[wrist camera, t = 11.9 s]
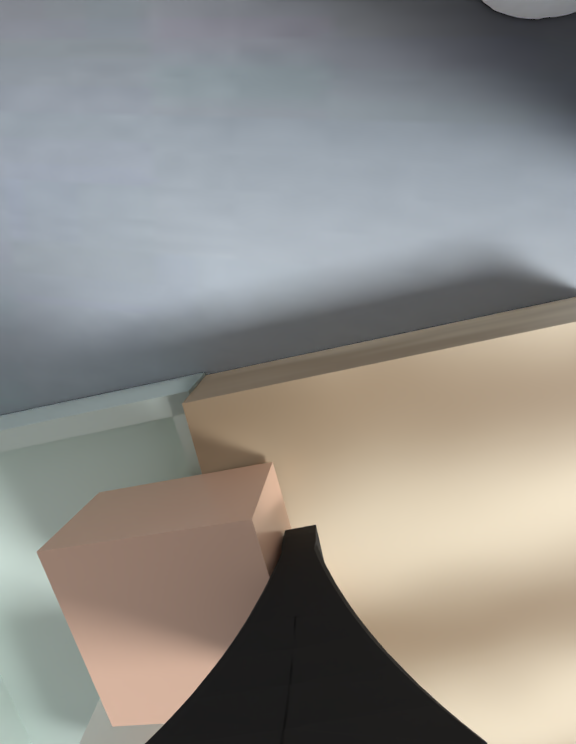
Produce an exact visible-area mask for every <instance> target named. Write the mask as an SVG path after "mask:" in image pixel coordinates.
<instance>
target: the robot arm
mask: <svg viewBox="0 0 576 744" xmlns="http://www.w3.org/2000/svg"><path fill="white" fill-rule="evenodd" d="M281 547H282V552H281V555H280V557H279V559H278V562H277V564H276V566H275V568H274V570H273V572H272V574H271V576H270V578H269V580H268V582H267V584H266V586H265V588H264V590H263V592H262V594H261V596H260V597H259V599H258V601H257V603H256V604H255V606H254V608H253V610H252V611H251V613H250V615H249V617H248V618H247V620H246V622H245V623H244V625H243V626H242V628H241V630H240V631H239V633H238V634H237V636H236V637H235V639H234V640H233V642H232V643H231V644H230V646H229V647H228V649H227V650H226V652H225V653H224V654H223V656H222V657H221V659H220V660H219V661H218V662H217V664H216V665H215V666H214V668H213V669H212V670H211V671H210V673H209V674H208V675H207V676H206V678H205V679H204V680H203V681H202V683H201V684H200V685H199V686H198V687H197V689H196V690H195V691H194V692H193V694H192V695H191V696H190V697H189V698H188V699H187V700H186V701H185V703H184V704H183V705H182V706H181V707H180V708H179V709H178V710H177V711H176V712H175V713H174V715H173V716H172V717H171V718H170V719H169V720H168V721H167V722H166V723H165V724H164V725H163V726H162V727H161V728H160V729H159V730H158V731H157V732H156V733H155V734H154V735H153V736H152V737H151V738H150V739H149V740H148V741H147V742H146V743H145V744H487V742H486V741H485V740H483V739H482V738H481V737H480V736H478V735H477V734H476V733H475V732H473V731H472V730H471V729H470V728H468V727H467V726H466V725H465V724H463V723H462V722H461V721H460V720H459V719H457V718H456V717H455V716H454V715H453V714H451V713H450V712H449V711H448V710H447V709H446V708H444V707H443V706H442V705H441V704H440V703H439V702H438V701H436V700H435V699H434V698H433V697H432V696H431V695H430V694H429V693H428V692H427V691H426V690H424V689H423V688H422V687H421V686H420V685H419V684H418V683H417V682H416V681H415V680H414V679H413V678H412V677H411V676H410V675H409V674H408V673H407V672H406V671H405V670H404V669H403V668H402V667H401V666H400V665H399V664H398V663H397V662H396V661H395V659H394V658H393V657H392V656H391V655H390V654H389V653H388V652H387V651H386V650H385V649H384V648H383V647H382V645H381V644H380V643H379V642H378V641H377V640H376V638H375V637H374V636H373V635H372V634H371V632H370V631H369V630H368V629H367V627H366V626H365V625H364V624H363V622H362V621H361V620H360V618H359V617H358V616H357V614H356V613H355V612H354V610H353V609H352V607H351V606H350V604H349V603H348V601H347V600H346V598H345V597H344V595H343V594H342V592H341V591H340V589H339V588H338V586H337V584H336V583H335V581H334V579H333V577H332V575H331V574H330V572H329V570H328V568H327V566H326V564H325V562H324V558H323V554H322V549H321V545H320V540H319V536H318V532H317V527H316V525H311V526H305V527H300V528H294V529H289V530H285V532H284V536H283V541H282V546H281Z"/></svg>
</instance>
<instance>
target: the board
mask: <svg viewBox="0 0 576 744" xmlns="http://www.w3.org/2000/svg"><path fill="white" fill-rule="evenodd" d="M182 406H183V409H184V413H185V416H186V420H187V423H188V427H189V430H190V434H191V437H192V441H193V444H194V448H195V451H196V455H197V458H198V462H199V465H200V468H201V472H202V474H206V473H212V472H218V471H223V470H229V469H235V468H240V467H246V466H252V465H257V464H263V463H269V462H273V465H274V468H275V472H276V475H277V479H278V482H279V486H280V490H281V493H282V497H283V500H284V504H285V507H286V511H287V514H288V518H289V522H290V525H291V529H294V528H300V527H305V526H311V525H316V527H317V532H318V536H319V540H320V545H321V549H322V554H323V558H324V562H325V564H326V566H327V568H328V570H329V572H330V574H331V575H332V577H333V579H334V581H335V583H336V584H337V586H338V588H339V589H340V591H341V592H342V594H343V595H344V597H345V598H346V600H347V601H348V603H349V604H350V606H351V607H352V609H353V610H354V612H355V613H356V614H357V616H358V617H359V618H360V620H361V621H362V622H363V624H364V625H365V626H366V627H367V629H368V630H369V631H370V632H371V634H372V635H373V636H374V637H375V638H376V640H377V641H378V642H379V643H380V644H381V645H382V647H383V648H384V649H385V650H386V651H387V652H388V653H389V654H390V655H391V656H392V657H393V658H394V659H395V661H396V662H397V663H398V664H399V665H400V666H401V667H402V668H403V669H404V670H405V671H406V672H407V673H408V674H409V675H410V676H411V677H412V678H413V679H414V680H415V681H416V682H417V683H418V684H419V685H420V686H421V687H422V688H423V689H424V690H426V691H427V692H428V693H429V694H430V695H431V696H432V697H433V698H434V699H435V700H436V701H438V702H439V703H440V704H441V705H442V706H443V707H444V708H446V709H447V710H448V711H449V712H450V713H451V714H453V715H454V716H455V717H456V718H457V719H459V720H460V721H461V722H462V723H463V724H465V725H466V726H467V727H468V728H470V729H471V730H472V731H473V732H475V733H476V734H477V735H478V736H480V737H481V738H482V739H483V740H485V741H486V742H487V744H576V297H572V298H568V299H563V300H558V301H554V302H549V303H544V304H539V305H535V306H530V307H525V308H521V309H516V310H511V311H506V312H502V313H497V314H492V315H487V316H483V317H478V318H473V319H469V320H464V321H459V322H454V323H450V324H445V325H440V326H436V327H431V328H426V329H421V330H417V331H412V332H407V333H402V334H398V335H393V336H388V337H384V338H379V339H374V340H369V341H365V342H360V343H355V344H351V345H346V346H341V347H336V348H332V349H327V350H322V351H318V352H313V353H308V354H303V355H299V356H294V357H289V358H284V359H280V360H275V361H270V362H266V363H261V364H256V365H251V366H247V367H242V368H237V369H233V370H228V371H223V372H218V373H214V374H209V375H205V377H204V378H203V379H202V380H201V381H200V383H199V384H198V385H197V386H196V387H195V389H194V390H193V391H192V392H191V393H190V395H189V396H188V397H187V398H186V399H185V401H184V402H183V403H182Z"/></svg>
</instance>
